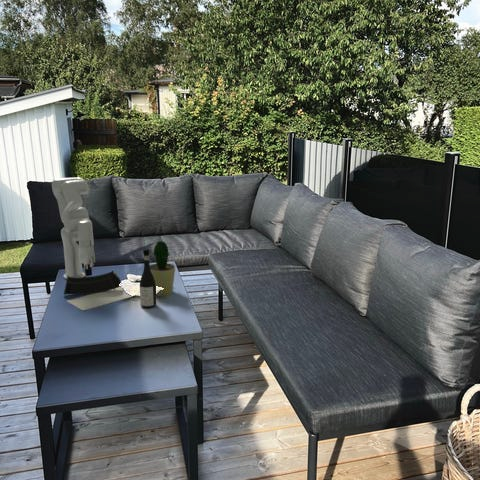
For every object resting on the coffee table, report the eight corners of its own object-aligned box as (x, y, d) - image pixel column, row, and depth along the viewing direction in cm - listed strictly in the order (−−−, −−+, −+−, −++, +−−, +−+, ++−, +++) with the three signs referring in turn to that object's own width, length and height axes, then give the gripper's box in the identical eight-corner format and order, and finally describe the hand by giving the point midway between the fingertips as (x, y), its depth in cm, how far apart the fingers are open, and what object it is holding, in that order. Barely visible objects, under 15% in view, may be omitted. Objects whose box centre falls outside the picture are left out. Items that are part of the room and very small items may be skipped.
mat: (66, 301, 253) (66, 300, 253) (121, 287, 275) (121, 286, 275) (82, 310, 240) (82, 310, 240) (139, 295, 263) (139, 294, 263)
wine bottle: (152, 309, 243) (150, 252, 236) (138, 308, 244) (135, 251, 237) (158, 303, 250) (156, 248, 243) (144, 302, 252) (141, 247, 245)
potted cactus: (145, 289, 271) (143, 238, 264) (172, 286, 277) (171, 235, 270) (150, 298, 257) (148, 244, 250) (178, 295, 263) (177, 242, 256)
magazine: (57, 281, 256) (111, 260, 263) (57, 279, 259) (111, 258, 266) (70, 309, 261) (123, 287, 268) (70, 307, 264) (122, 286, 271)
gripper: (73, 241, 264) (76, 273, 269) (86, 246, 254) (88, 279, 258) (86, 239, 269) (88, 271, 274) (99, 244, 259) (101, 276, 263)
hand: (88, 275), depth 266 cm, fingers closed
